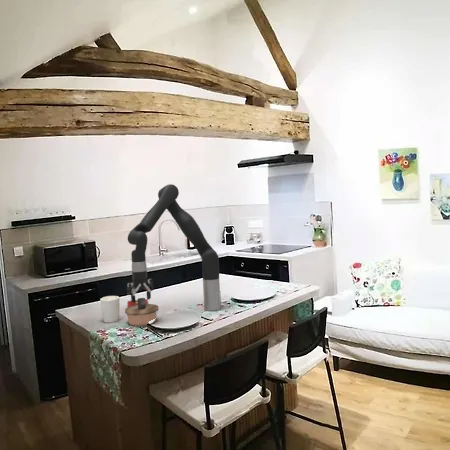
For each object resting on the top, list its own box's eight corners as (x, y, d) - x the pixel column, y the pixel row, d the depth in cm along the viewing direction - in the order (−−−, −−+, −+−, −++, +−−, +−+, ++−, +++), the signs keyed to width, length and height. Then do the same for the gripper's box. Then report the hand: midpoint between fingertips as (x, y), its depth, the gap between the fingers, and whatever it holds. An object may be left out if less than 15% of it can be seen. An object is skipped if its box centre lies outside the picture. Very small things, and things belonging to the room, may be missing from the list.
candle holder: (122, 317, 241) (121, 295, 240) (118, 322, 231) (117, 300, 230) (104, 318, 241) (102, 296, 240) (99, 323, 231) (98, 301, 230)
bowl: (159, 317, 237) (158, 306, 236) (152, 325, 223) (151, 314, 222) (133, 318, 238) (132, 307, 237) (125, 326, 224) (124, 314, 224)
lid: (161, 305, 238) (161, 294, 237) (154, 314, 221) (153, 302, 220) (130, 306, 239) (130, 295, 239) (120, 315, 222) (120, 303, 222)
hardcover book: (127, 317, 242) (126, 309, 241) (127, 307, 262) (127, 300, 262) (149, 315, 244) (149, 307, 244) (148, 305, 265) (147, 298, 264)
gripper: (147, 267, 236) (149, 297, 237) (123, 271, 226) (125, 302, 228) (155, 268, 230) (157, 299, 231) (130, 273, 221) (132, 305, 222)
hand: (141, 300), depth 229 cm, fingers open, 8 cm apart
